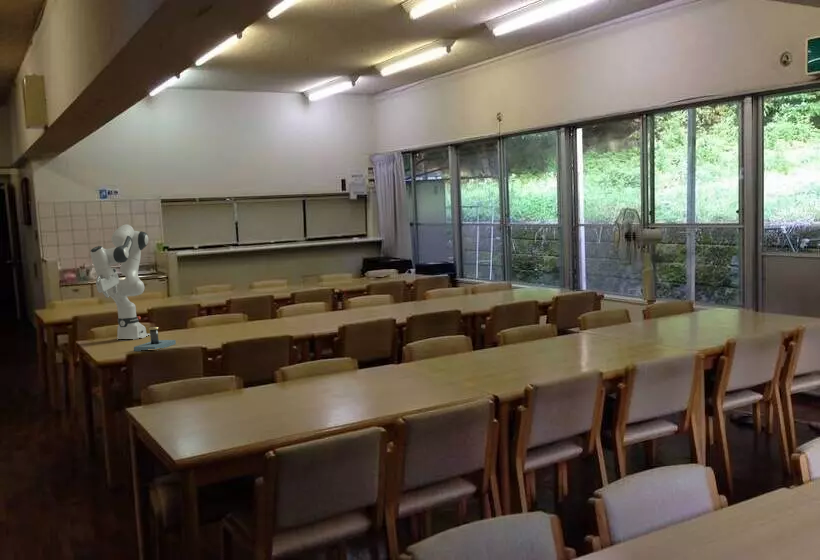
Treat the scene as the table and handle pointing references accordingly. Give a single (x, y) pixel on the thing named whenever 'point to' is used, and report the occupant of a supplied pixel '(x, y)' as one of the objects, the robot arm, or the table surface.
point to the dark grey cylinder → (154, 335)
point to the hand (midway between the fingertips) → (111, 295)
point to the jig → (155, 345)
